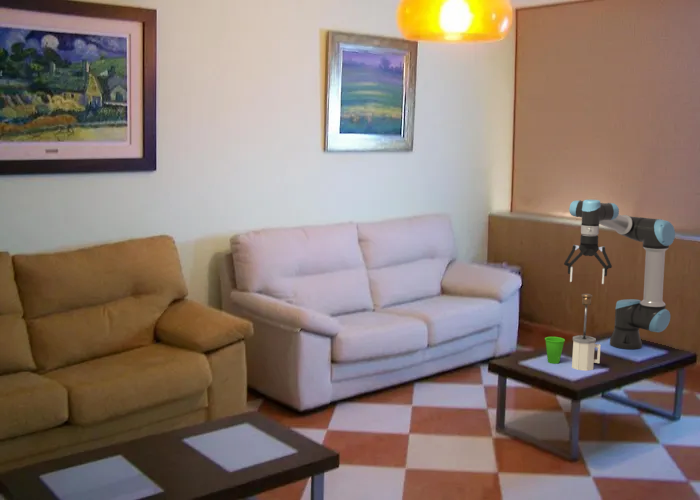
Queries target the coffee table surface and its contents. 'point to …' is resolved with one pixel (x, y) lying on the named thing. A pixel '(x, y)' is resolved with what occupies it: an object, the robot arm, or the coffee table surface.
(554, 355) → the cup
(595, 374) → the coffee table surface
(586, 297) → the plunger
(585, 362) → the press
